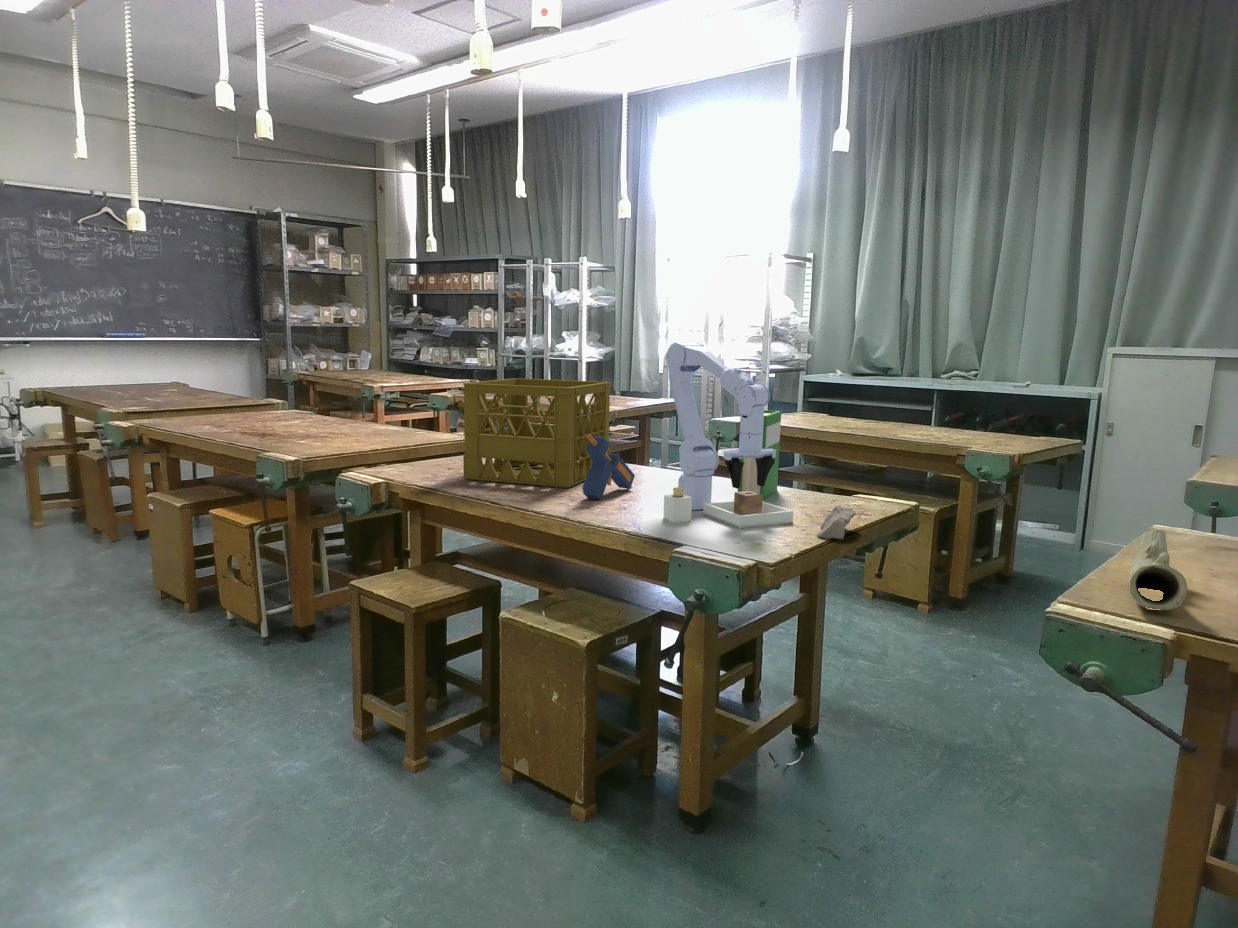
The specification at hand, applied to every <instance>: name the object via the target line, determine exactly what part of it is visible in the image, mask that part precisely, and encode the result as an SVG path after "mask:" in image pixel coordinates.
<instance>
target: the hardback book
mask: <svg viewBox="0 0 1238 928" xmlns="http://www.w3.org/2000/svg"><path fill="white" fill-rule="evenodd" d="M781 423H782V410H765V409H764V423H763V440H762V449H774V450H776V457H772V458H773V459H775V463H774V464H773V466H772V468H771V469H770V471H769V473H768V476H767V479H766V482H765V485H764V486H763V487H762V486H759V485H757V465H756V460H755V458H747V459H739V460H740V462H744V465H743V468H742V472H741V480H740V488H738V489H737V492H742V491H753V492H756V493H760V494H763V498H762V501H763V502H765V501H766V499H768V498H769V497H772V495H773V494H775V493H776V492H778V480H779V463H780V461H779V460H780V441H781V427H782V426H781Z"/></svg>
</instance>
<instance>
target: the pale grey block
mask: <svg viewBox="0 0 1238 928" xmlns="http://www.w3.org/2000/svg"><path fill="white" fill-rule="evenodd" d="M672 490H673V491H672V492H673V493H672V494H664V497H663V520H667V521H668V522H671V523H673V524H674V523H684V522H692V510H691V508H692V497H689V496H686V495H683V488H678V486H677V487H673V488H672Z"/></svg>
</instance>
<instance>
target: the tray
mask: <svg viewBox="0 0 1238 928" xmlns="http://www.w3.org/2000/svg"><path fill="white" fill-rule="evenodd" d="M702 510H703V511H702V512H703V516H705V517H708V518H711V519H713V520H716V521H719V522H721V523H723V524H726V525H728V526H732V527H734V528H737V529H740V530H741V529H749V528H750V529H751V528H757V527H767V526H777V525H784V524H785V525H786V524H787V525H788V524H792V523H794V521H793V520H794V511H793V510H792V509H788V508H784V507H783V506H778V505H775V504H772V503H769V502H766V501H762V513H761V514H751V515H738V514H735V513H734V500H727V501H726V500H725V501H716V502H715V501H714V502H711V503H704V507H703V509H702Z"/></svg>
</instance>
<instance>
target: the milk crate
mask: <svg viewBox="0 0 1238 928" xmlns="http://www.w3.org/2000/svg"><path fill="white" fill-rule="evenodd" d="M611 384H612V382H611V381H609V382H608V381H595V380H594V381H590V380H566V379H562V380H561V379H544V378H543V379H539V378H517V377H516V378H503V379H494V380H493V379H491V380H485V381H484V380H483V381H472V382H464V383H462V385H463V390H462V393H463V407H464V408H463V411H464V415H463V416H464V420H463V422H464V425H463V426H464V432H463V433H462V434H463V435H464V454H463V459H462V460H463V463H462V465H463V479H467V480H468V481H478V482H480V481H481V482H489V481H491V482H492V483H500V482H504V483H503V484H512V483H517V484H516V485H523V484H529V485H528V486H535V485H540V486H539V487H546V486H550V487H549V488H557V487H560V488H561V489H569V488H571V487H574V486H576V485H578V484H580V483H582V481H583V482H585V480H586V478H587V476H588V473H589V471H590V469H591V466H592V462H593V460H592V457H591V456H590V454H589V453H588V452H587V451H586V450H587V447H588V445H589V442H590V441H589V440H588V439H587V437H586V435H587V434H591V435H592V437H603V438H605V439H606V441H607V442H608V443H609V444H610V430H611V428H610V407H611V406H610V403H611V402H610V397H611V395H610V393H611V391H612V389H611ZM486 394H493V395H494V396H493V398H492V399H487V398H486ZM587 395H592V396H591V398H590V399H589V402H588V403H587V401H586V397H587ZM541 397H545V398H546V399H547V400H548V402H549V404H548V405H546V404H545V405H542V403H541V401H540V399H541ZM578 397H579V399H578ZM529 398H530V400H531V404H529V403H528V401H529V400H528V399H529ZM501 400H502V402H501ZM592 401H593V402H592ZM544 408H547V410H546V411H545V409H544ZM500 409H502V412H501V411H500ZM539 409H540V411H539ZM492 410H493V413H491V411H492ZM483 411H484V412H483ZM534 412H536V414H537V415H533V414H534ZM552 412H553V415H554V416H550V415H551V413H552ZM582 412H583V413H582ZM529 413H530V414H529ZM541 414H542V415H541ZM482 415H483V417H482ZM532 418H534V419H535V418H538V419H539V421H540V422H541V423H531V422H530V420H531V419H532ZM548 419H552V420H554V421H553V422H554V424H550V421H549V420H548ZM497 421H498V422H497ZM506 421H507V423H506ZM487 423H488V424H489V427H487ZM496 423H498V425H496ZM505 423H506V424H505ZM505 427H507V428H506V432H505ZM486 431H489V432H488V433H489V434H488V433H486ZM609 446H610V445H609ZM609 446H608V449H607V452H606V453H610V452H611V448H610V447H609ZM610 454H611V453H610ZM483 459H485V461H483ZM493 459H494V460H493ZM529 465H537V466H529ZM512 466H514V467H512ZM518 466H519V467H518ZM551 467H554V468H551ZM533 468H537V469H533ZM518 469H519V470H518ZM536 475H537V476H536ZM491 482H490V483H491ZM560 488H559V489H560Z"/></svg>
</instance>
